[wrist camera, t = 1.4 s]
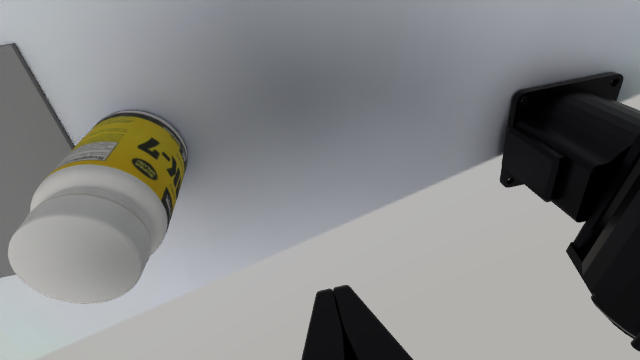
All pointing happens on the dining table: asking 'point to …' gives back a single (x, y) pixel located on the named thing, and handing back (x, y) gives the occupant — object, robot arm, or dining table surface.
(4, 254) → the mat
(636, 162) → the robot arm
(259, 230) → the dining table surface
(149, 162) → the supplement bottle
